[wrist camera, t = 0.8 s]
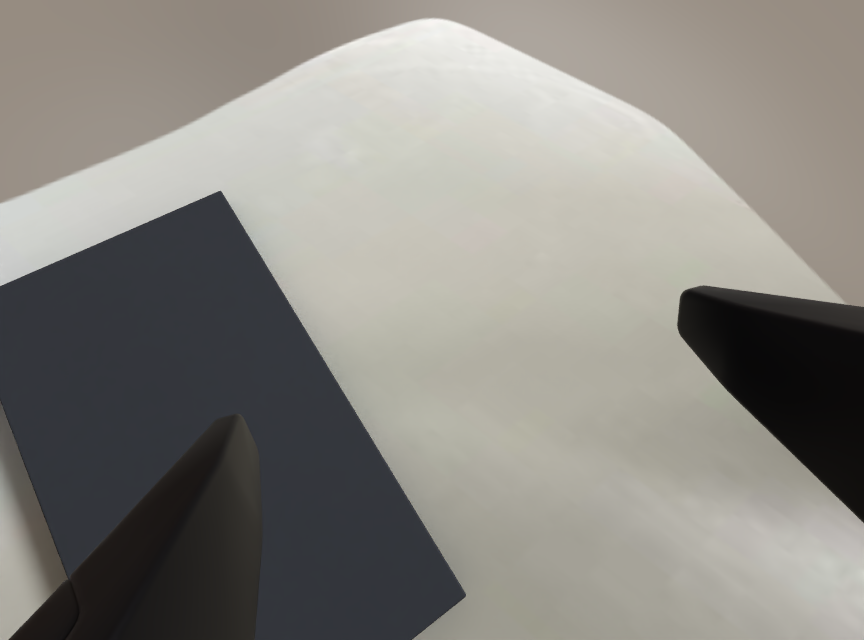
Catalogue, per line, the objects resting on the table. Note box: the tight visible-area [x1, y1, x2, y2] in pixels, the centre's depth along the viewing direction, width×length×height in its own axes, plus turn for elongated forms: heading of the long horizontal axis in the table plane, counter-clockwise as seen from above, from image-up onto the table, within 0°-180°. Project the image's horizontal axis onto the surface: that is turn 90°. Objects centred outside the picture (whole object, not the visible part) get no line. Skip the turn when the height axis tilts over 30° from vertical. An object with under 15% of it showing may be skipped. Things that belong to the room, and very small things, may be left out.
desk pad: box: [0, 191, 466, 640], centre depth 20 cm, size 22×12×1 cm, turn 33°
